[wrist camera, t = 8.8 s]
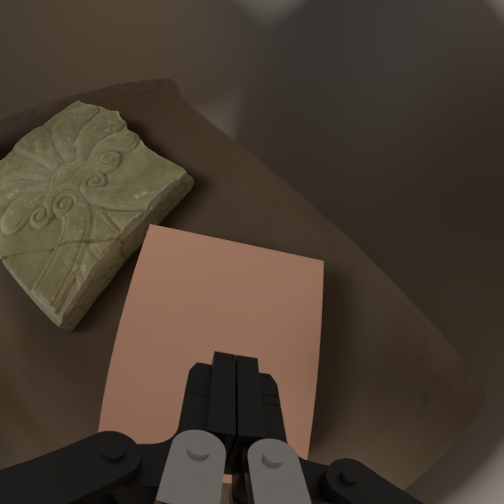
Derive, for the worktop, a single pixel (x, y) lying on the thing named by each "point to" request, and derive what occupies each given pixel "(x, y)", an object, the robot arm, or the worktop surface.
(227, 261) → the terracotta tile
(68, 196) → the decorative tile
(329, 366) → the worktop surface
